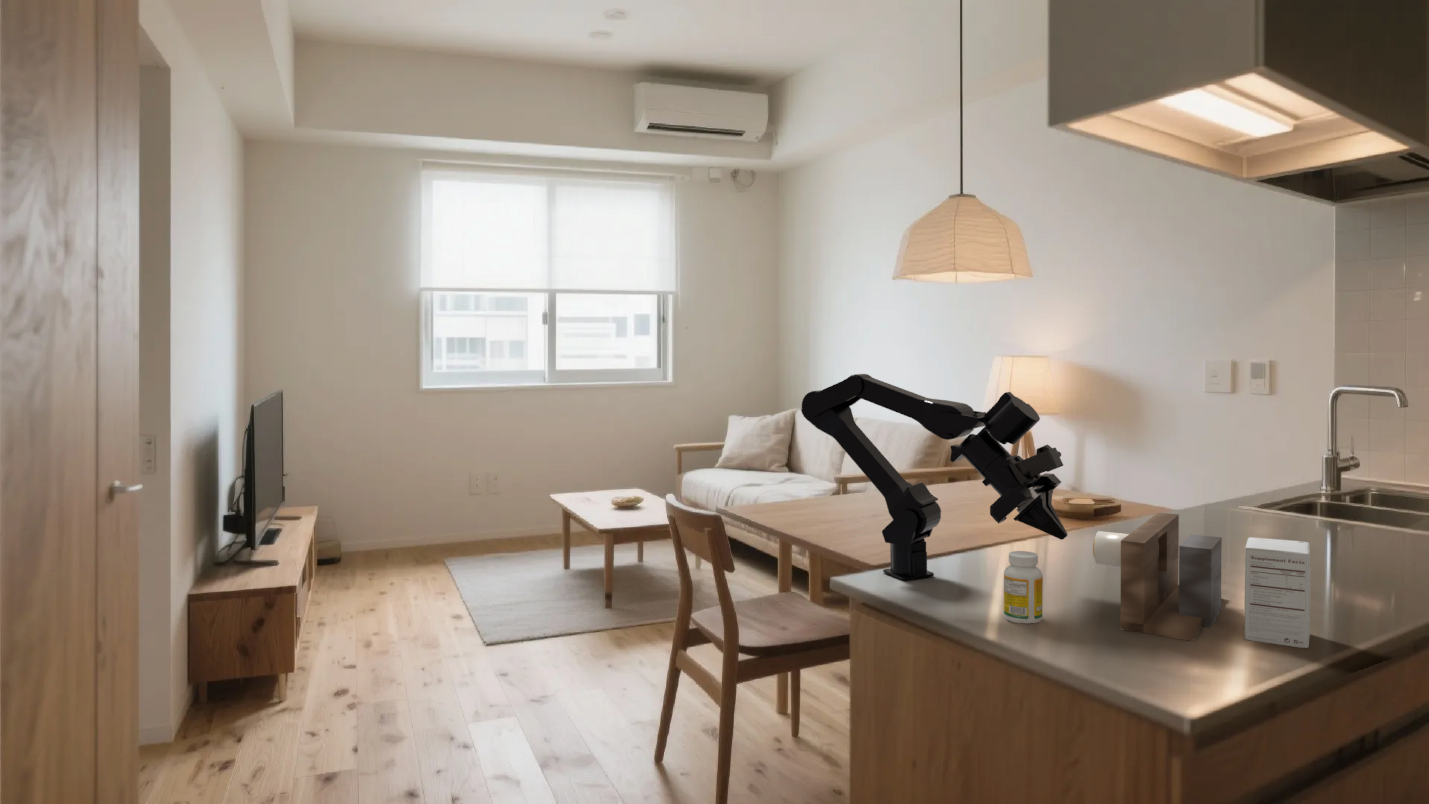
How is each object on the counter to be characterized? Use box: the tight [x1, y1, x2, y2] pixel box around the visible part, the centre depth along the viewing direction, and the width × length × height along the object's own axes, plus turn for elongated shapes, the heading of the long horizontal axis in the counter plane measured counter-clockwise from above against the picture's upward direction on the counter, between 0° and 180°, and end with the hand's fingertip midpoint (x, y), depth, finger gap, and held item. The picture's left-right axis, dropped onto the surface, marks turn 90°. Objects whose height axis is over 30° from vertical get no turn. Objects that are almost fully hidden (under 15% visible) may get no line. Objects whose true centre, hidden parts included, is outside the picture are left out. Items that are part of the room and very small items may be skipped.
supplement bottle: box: [1003, 550, 1044, 625], centre depth 131 cm, size 5×5×10 cm
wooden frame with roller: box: [1120, 512, 1223, 642], centre depth 132 cm, size 10×24×12 cm, turn 143°
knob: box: [1092, 530, 1159, 568], centre depth 136 cm, size 8×5×5 cm, turn 53°
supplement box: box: [1244, 536, 1311, 649], centre depth 121 cm, size 7×7×13 cm
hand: (1065, 537), depth 141 cm, fingers closed
